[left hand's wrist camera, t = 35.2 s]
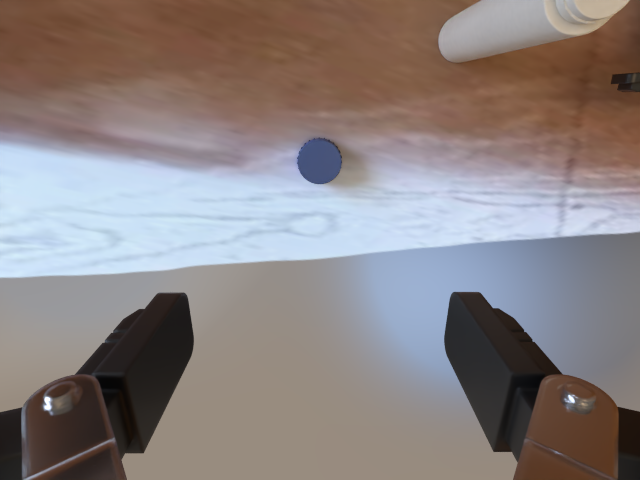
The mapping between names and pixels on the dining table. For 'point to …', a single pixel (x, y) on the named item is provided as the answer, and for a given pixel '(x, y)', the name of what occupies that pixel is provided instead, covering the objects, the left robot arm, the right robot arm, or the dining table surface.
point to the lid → (319, 161)
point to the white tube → (520, 25)
